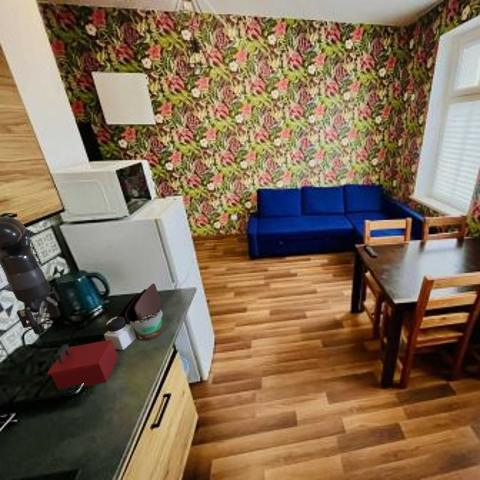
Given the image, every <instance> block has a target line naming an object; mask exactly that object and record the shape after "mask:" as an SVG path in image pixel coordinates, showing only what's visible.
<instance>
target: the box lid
mask: <svg viewBox="0 0 480 480" xmlns="http://www.w3.org/2000/svg"><path fill="white" fill-rule="evenodd" d="M111 342H112V340H106V339H105V340H101V341H96V342H89V343H87V344H85V343H84V344H81V345H75V346H70V345H69V344H63V345H62V346H61V347H60V348H59V350H58V351H57V352H56V354H55V355H54V359H55V360H56V361H55V362H54V363H53V365H52V366H51V367H50V369H49V370H48V372H46V374H47V376H51V374H56V373H61V372H66V371H71V370H76V369H81V368H85V367H90V366H95V365H99V364H100V363H101V361H102V359H103V357H104V355H105V353H106V352H107V350H108V348H109V346H110V344H111Z"/></svg>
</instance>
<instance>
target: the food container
mask: <svg viewBox="0 0 480 480" xmlns="http://www.w3.org/2000/svg"><path fill="white" fill-rule="evenodd" d="M163 315H164V313H163V311H162V308H160V307H159V308H158V310H157V311H156V312H154V313H152V314H148V315H146V316H144V317H142V318H140V319H138V320H136V321H133V322H131V321H130V326H131V327H133V328H134V330H135V334H136V336H137V338H138V339H139V340H141V341H150V340H154V339H156V338H157V337H159V336H160V335H161V334H162V333H163V332H164V331H163V330H164V328H163V319H162V317H163Z"/></svg>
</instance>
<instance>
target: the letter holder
mask: <svg viewBox="0 0 480 480" xmlns="http://www.w3.org/2000/svg"><path fill="white" fill-rule="evenodd" d="M161 305H162V303H161V298H160V295H159V292H158V289H157V286H156V283H154V282H153V283H151V284H150V285H149V286H148V287H147V288H144V289H143V290H141V292H140V293H136V294H134V295H133V296H132V297H131V298H130V299H129V300H128V301H127V303H125V304H124V306H123V307H122V308H121V310H120V311H119V313H118V314H117V315H116V317H124V318H125V321H126V324H127V325H130V321H131V322H133V321H136V320H138V319H140V318H142V317H144V316H146V315H148V314H152V313H154V312H157V311H159V308H160V307H161ZM134 331H135V330H134Z"/></svg>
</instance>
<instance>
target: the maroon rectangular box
mask: <svg viewBox="0 0 480 480" xmlns="http://www.w3.org/2000/svg"><path fill="white" fill-rule="evenodd" d="M118 359H119V355H118V353H117V349H115V347H114V345H113V342H111V344H110V346H109V348H108V350H107V352H106V353H105V355H104V357H103V359H102V361H101V363H100V364H99V365H95V366H90V367H85V368H81V369H76V370H71V371H66V372H61V373H56V374H51V375H50V376H51V378H52V379H53V381H54V382H53V383H55V385H56V388H57V389H58V390H59V388H64V387H70V386H74V385H78V384H81V383H84V387H85V388H86V387H90V386H94V385H98V384H103V383H104V384H105V383H107V382H108V380H109V378H110V377H111V374H112V372H113V369H114V367H115V365H116V363H117V362H118ZM84 387H83V388H84Z"/></svg>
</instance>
